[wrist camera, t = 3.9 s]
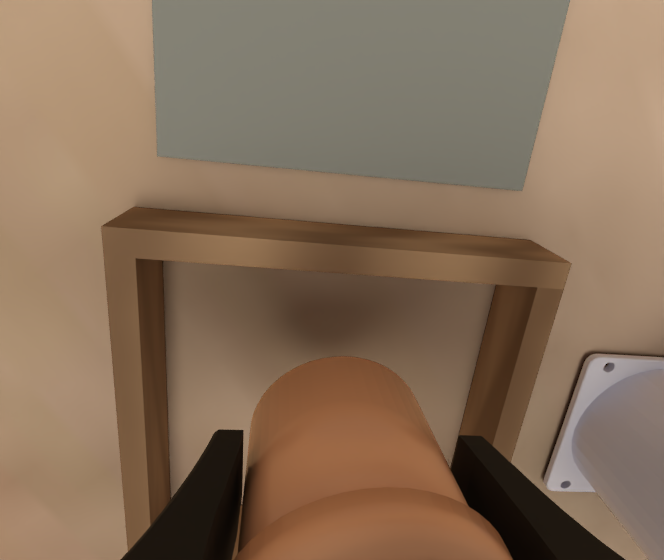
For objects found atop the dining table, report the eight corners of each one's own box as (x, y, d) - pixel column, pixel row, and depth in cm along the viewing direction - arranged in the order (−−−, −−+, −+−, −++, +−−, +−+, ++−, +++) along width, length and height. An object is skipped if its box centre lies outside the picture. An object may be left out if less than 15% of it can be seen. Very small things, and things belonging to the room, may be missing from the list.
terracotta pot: (444, 349, 12) (579, 535, 7) (415, 505, 14) (503, 755, 9) (241, 343, 12) (204, 545, 6) (237, 508, 14) (206, 783, 8)
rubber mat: (587, -84, 15) (591, -87, 14) (519, 190, 18) (522, 191, 18) (148, -156, 13) (146, -160, 13) (158, 155, 16) (157, 156, 16)
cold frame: (530, 240, 19) (571, 263, 16) (454, 523, 24) (475, 577, 21) (133, 206, 17) (101, 226, 14) (150, 518, 23) (130, 576, 20)
